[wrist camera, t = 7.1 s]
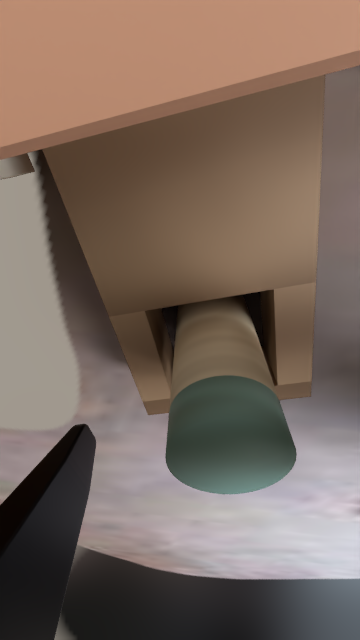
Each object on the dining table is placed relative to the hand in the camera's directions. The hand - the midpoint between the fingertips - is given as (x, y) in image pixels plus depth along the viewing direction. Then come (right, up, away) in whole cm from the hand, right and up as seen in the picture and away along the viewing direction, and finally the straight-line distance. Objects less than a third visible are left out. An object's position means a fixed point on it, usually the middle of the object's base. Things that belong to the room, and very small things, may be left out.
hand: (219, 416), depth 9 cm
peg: (0, +3, +6) cm, 7 cm away
